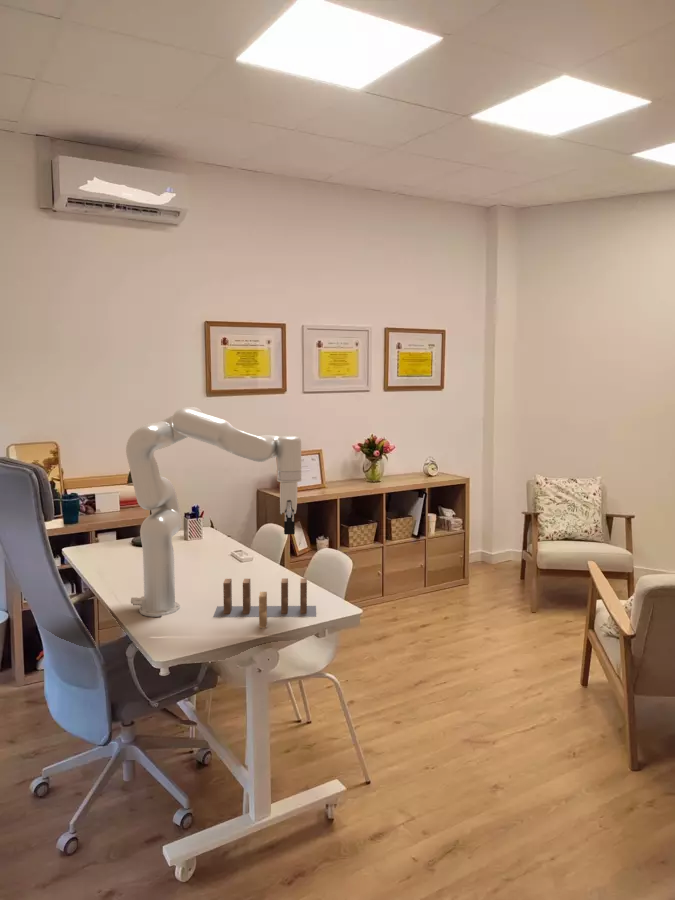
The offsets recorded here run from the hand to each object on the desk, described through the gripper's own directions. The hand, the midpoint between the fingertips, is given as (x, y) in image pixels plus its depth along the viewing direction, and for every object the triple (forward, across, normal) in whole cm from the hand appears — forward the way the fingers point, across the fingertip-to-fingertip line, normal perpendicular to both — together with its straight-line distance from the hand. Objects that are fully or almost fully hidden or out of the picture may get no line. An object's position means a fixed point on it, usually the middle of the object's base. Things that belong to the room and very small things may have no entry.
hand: (289, 530), depth 214 cm
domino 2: (+27, -2, -14) cm, 30 cm away
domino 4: (+27, -2, -2) cm, 27 cm away
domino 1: (+26, -3, -20) cm, 33 cm away
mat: (+27, -2, -8) cm, 28 cm away
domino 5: (+27, -2, +4) cm, 27 cm away
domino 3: (+27, +10, -8) cm, 30 cm away
